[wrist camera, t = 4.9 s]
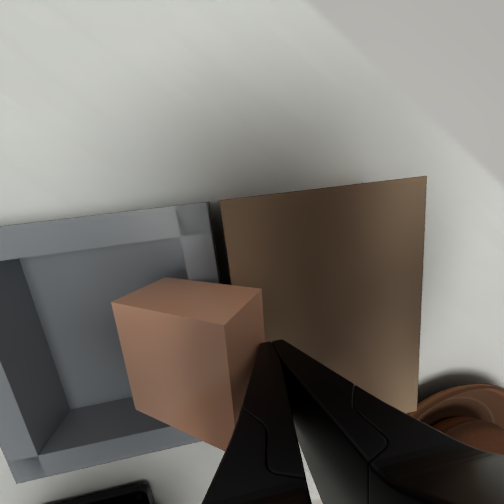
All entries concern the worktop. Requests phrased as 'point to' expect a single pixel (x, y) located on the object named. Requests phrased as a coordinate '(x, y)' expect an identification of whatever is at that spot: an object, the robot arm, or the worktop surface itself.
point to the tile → (191, 352)
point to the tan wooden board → (339, 276)
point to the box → (85, 333)
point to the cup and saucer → (467, 415)
